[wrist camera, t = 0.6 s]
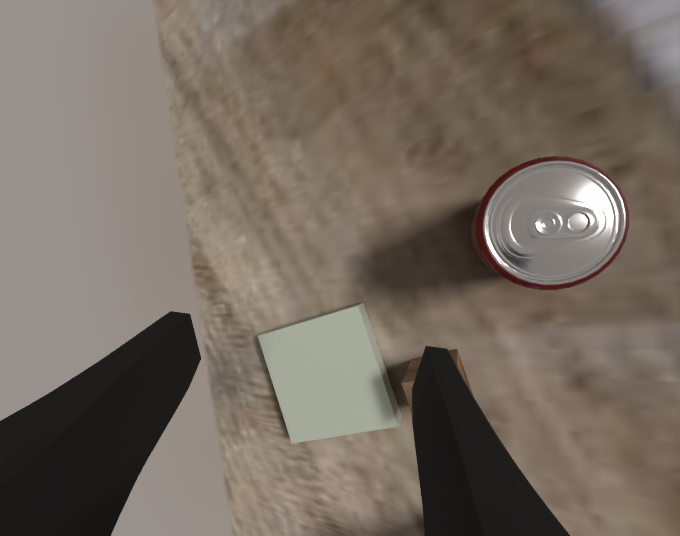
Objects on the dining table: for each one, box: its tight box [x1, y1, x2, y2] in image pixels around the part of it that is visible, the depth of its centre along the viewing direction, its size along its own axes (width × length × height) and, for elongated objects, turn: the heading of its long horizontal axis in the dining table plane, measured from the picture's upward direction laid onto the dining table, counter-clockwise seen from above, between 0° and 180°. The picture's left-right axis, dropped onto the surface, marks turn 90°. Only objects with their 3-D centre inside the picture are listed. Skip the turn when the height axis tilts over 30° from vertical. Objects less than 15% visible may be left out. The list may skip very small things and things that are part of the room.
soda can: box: [469, 156, 629, 290], centre depth 23 cm, size 7×7×12 cm
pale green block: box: [258, 302, 402, 443], centre depth 34 cm, size 12×12×2 cm
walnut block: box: [401, 349, 473, 413], centre depth 29 cm, size 4×4×6 cm
